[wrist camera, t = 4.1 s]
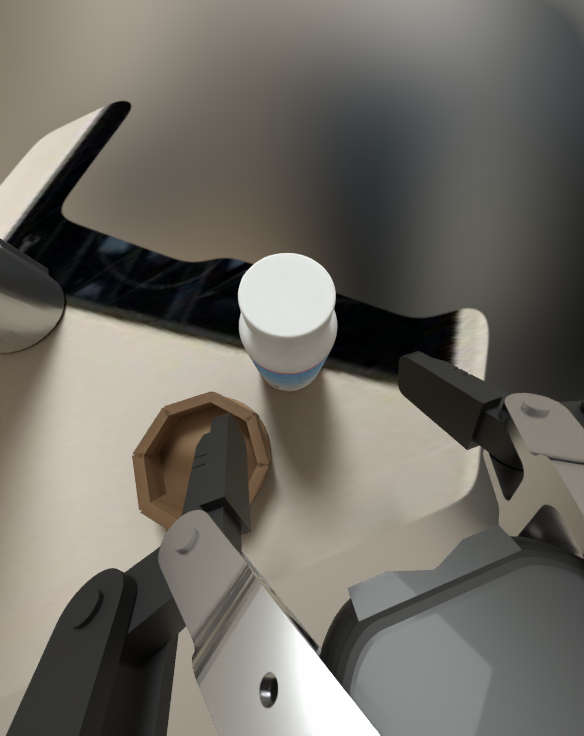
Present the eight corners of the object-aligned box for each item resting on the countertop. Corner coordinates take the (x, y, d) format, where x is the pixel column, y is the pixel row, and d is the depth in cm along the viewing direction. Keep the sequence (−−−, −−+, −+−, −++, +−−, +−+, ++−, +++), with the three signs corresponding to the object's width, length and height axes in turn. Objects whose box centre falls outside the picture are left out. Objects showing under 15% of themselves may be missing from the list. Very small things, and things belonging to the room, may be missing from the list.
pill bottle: (331, 374, 20) (378, 319, 9) (274, 403, 20) (254, 378, 9) (302, 323, 22) (314, 223, 11) (248, 348, 21) (202, 268, 10)
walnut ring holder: (148, 417, 19) (124, 416, 16) (253, 383, 20) (247, 377, 17) (166, 539, 17) (142, 561, 14) (285, 494, 18) (284, 507, 15)
